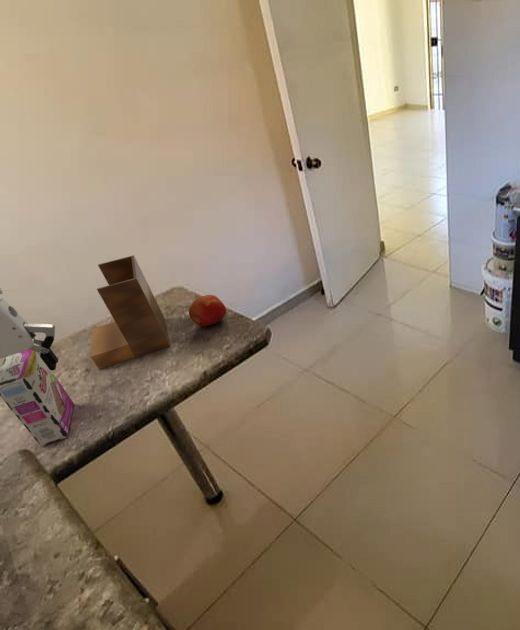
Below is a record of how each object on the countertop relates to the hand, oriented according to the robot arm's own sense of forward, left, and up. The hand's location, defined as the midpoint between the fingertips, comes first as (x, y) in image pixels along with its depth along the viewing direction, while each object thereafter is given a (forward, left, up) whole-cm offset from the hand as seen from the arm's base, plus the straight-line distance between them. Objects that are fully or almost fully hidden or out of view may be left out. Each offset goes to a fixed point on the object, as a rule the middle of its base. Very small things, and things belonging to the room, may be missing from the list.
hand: (24, 376), depth 84 cm
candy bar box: (0, 0, -14) cm, 14 cm away
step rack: (+15, +23, -13) cm, 30 cm away
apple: (+34, +20, -14) cm, 41 cm away
